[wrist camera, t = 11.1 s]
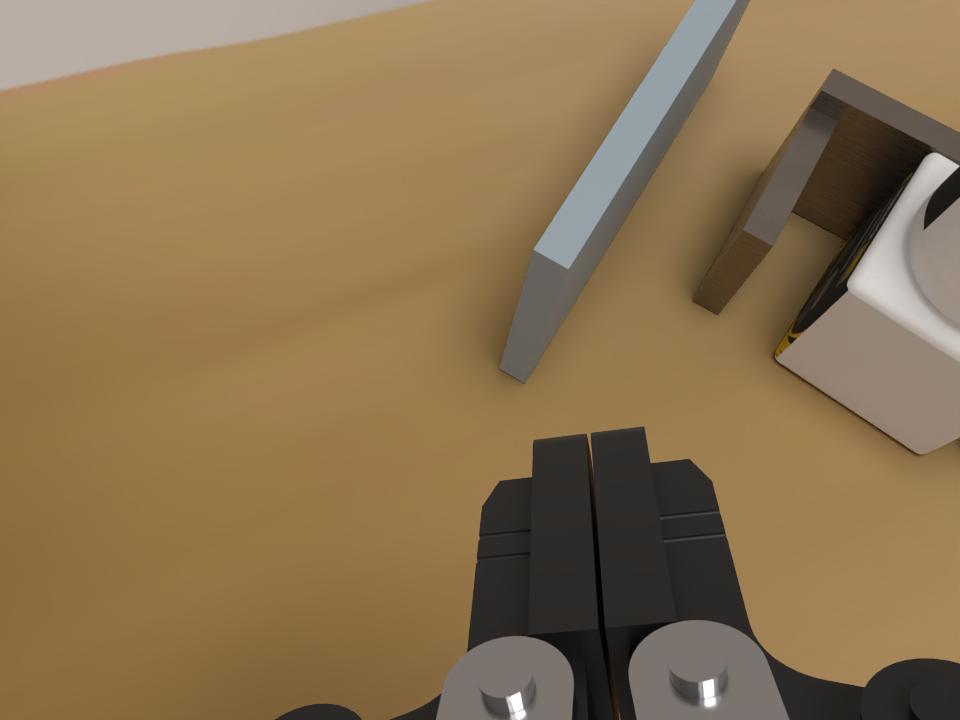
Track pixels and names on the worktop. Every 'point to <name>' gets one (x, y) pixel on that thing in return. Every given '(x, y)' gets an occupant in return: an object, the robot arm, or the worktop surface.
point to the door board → (616, 179)
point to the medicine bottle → (892, 314)
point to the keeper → (828, 175)
